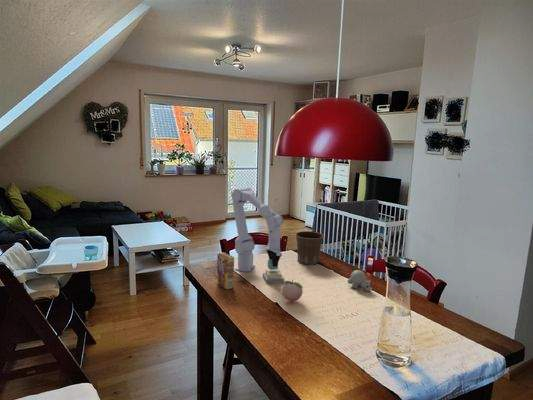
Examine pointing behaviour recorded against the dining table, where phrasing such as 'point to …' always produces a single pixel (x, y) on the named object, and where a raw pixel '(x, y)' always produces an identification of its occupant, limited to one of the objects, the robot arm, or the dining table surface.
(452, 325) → the dining table surface
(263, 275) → the base slab
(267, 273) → the top slab
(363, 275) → the chubby cartoon animal
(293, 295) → the decorative fruit
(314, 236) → the plant pot
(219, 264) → the candy box
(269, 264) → the teal cube
